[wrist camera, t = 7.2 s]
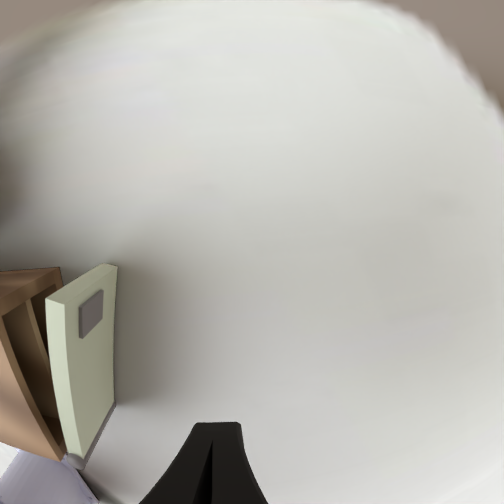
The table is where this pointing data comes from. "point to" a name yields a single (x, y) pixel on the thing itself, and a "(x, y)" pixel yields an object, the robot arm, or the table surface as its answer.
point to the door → (83, 358)
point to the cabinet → (28, 364)
